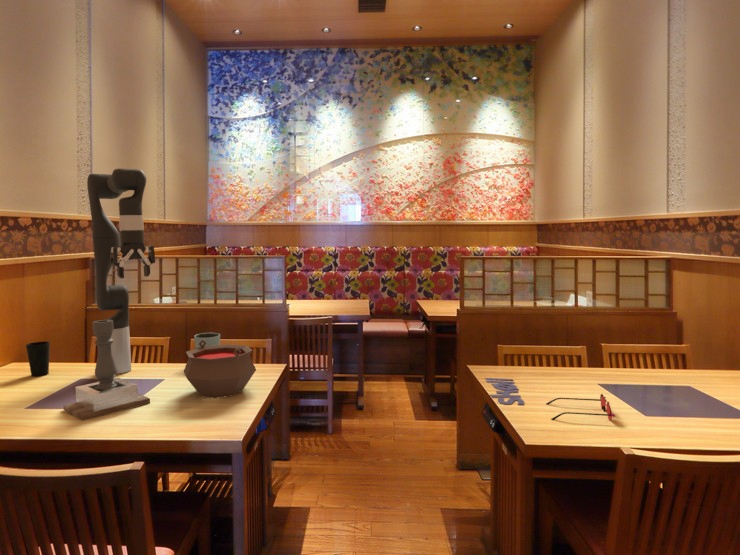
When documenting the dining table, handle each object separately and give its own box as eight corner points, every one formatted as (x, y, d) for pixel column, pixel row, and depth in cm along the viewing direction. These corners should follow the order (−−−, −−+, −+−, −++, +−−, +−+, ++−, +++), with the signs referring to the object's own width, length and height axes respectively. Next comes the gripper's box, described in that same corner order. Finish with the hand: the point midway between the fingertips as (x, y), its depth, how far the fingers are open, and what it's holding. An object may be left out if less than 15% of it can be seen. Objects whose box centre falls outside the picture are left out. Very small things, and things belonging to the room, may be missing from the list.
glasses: (615, 425, 145) (615, 407, 145) (551, 421, 149) (551, 403, 148) (604, 408, 159) (604, 391, 158) (545, 405, 162) (545, 389, 162)
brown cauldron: (169, 392, 179) (167, 344, 177) (231, 377, 196) (230, 333, 195) (207, 408, 163) (205, 355, 161) (271, 390, 180) (270, 342, 179)
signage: (526, 404, 161) (492, 403, 162) (526, 406, 161) (491, 405, 162) (513, 378, 189) (484, 377, 190) (513, 380, 189) (484, 379, 190)
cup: (55, 373, 205) (53, 342, 204) (34, 378, 199) (32, 346, 197) (45, 371, 209) (43, 340, 208) (24, 375, 203) (22, 344, 202)
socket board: (63, 410, 162) (63, 405, 162) (129, 394, 177) (129, 390, 177) (82, 420, 153) (82, 415, 153) (150, 402, 168) (149, 398, 168)
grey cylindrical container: (213, 360, 223) (212, 331, 222) (226, 364, 216) (225, 334, 215) (190, 364, 216) (189, 335, 215) (202, 368, 209) (201, 338, 208)
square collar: (76, 402, 164) (75, 386, 164) (119, 392, 174) (118, 377, 174) (94, 411, 156) (93, 395, 155) (138, 400, 166) (137, 384, 165)
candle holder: (122, 398, 168) (118, 319, 166) (111, 405, 162) (106, 323, 160) (104, 398, 169) (99, 319, 166) (91, 404, 162) (86, 322, 160)
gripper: (146, 229, 188) (149, 275, 189) (105, 229, 177) (107, 278, 179) (157, 228, 183) (159, 276, 185) (115, 229, 172) (117, 279, 174)
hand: (134, 277), depth 182 cm, fingers open, 8 cm apart
